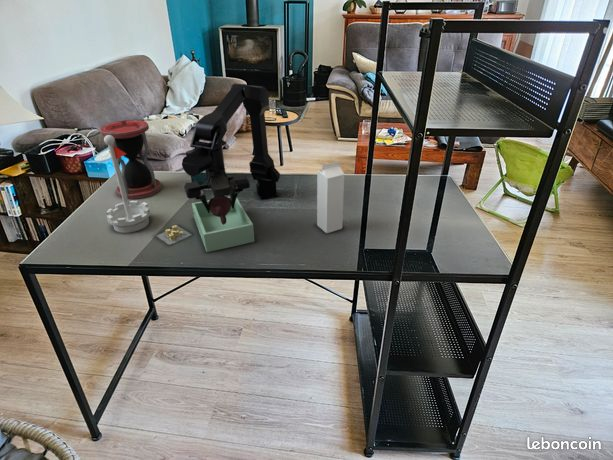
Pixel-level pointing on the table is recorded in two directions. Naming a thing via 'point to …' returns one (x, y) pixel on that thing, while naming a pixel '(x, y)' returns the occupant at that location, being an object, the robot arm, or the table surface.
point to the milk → (330, 197)
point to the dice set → (173, 235)
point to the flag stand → (125, 200)
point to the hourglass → (133, 157)
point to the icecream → (220, 207)
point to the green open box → (223, 227)
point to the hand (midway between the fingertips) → (220, 210)
